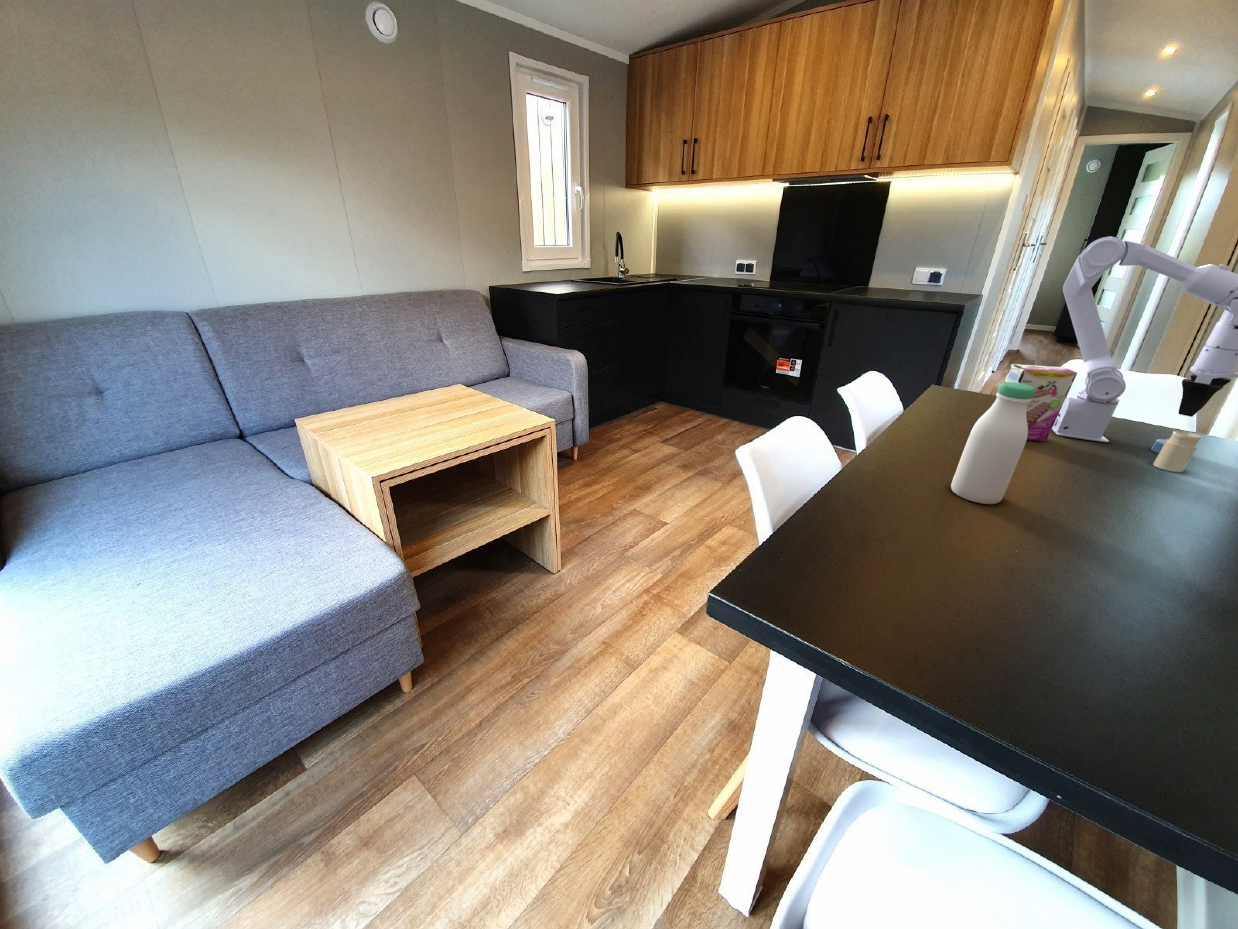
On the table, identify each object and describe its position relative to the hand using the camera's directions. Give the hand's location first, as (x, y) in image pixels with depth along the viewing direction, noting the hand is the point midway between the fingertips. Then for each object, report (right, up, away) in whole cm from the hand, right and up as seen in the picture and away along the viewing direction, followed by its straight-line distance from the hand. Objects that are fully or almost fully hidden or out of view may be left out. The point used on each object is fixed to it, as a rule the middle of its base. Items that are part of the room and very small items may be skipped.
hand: (1189, 412), depth 104 cm
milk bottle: (-58, -17, -17) cm, 63 cm away
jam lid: (0, -7, +3) cm, 8 cm away
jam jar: (-9, -12, -4) cm, 15 cm away
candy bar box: (-29, -5, +10) cm, 31 cm away
